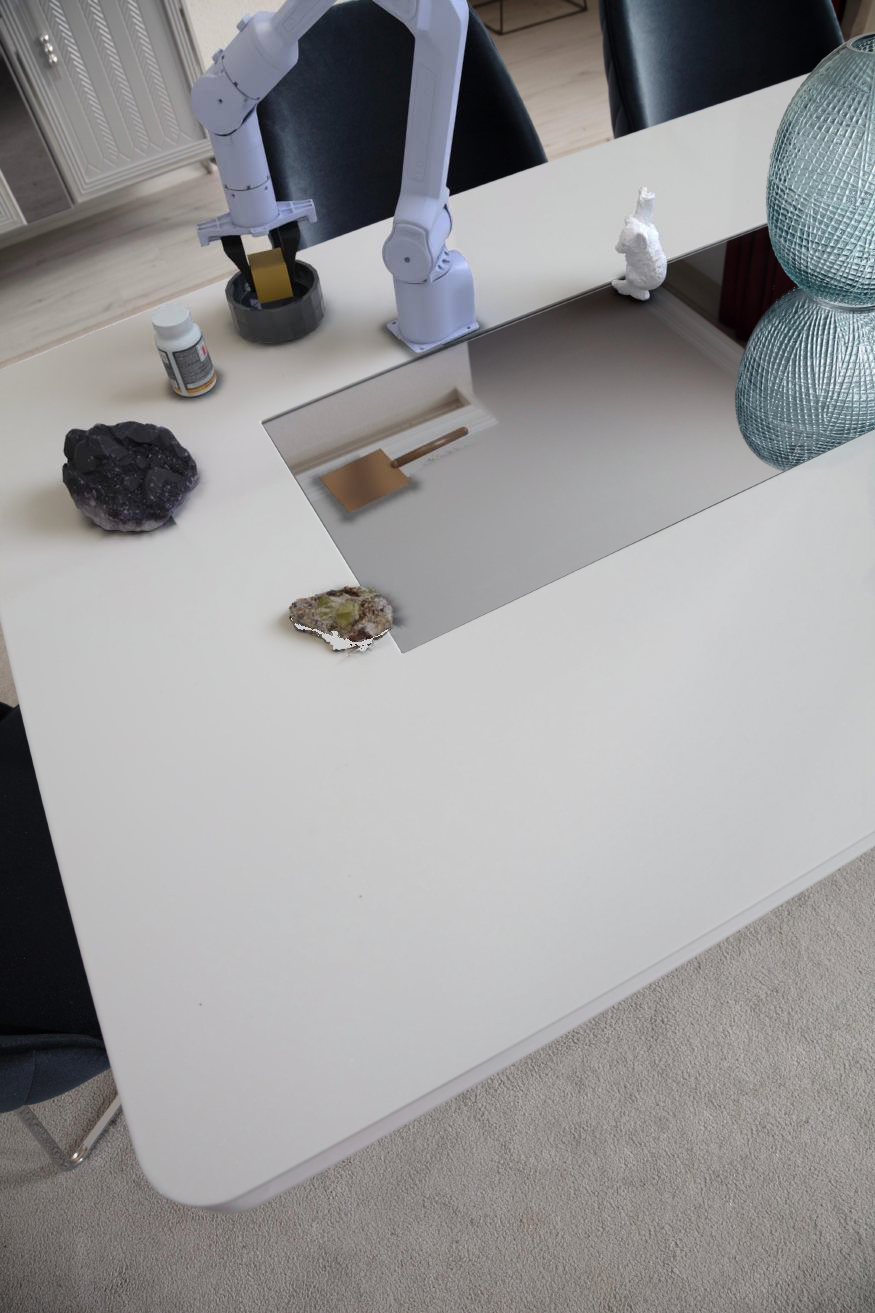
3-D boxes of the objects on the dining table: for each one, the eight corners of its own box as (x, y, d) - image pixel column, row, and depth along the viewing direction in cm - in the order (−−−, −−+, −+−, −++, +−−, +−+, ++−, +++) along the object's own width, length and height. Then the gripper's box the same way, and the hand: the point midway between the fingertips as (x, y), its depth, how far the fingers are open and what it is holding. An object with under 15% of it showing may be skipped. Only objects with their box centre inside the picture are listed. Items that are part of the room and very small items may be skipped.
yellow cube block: (287, 278, 122) (280, 246, 118) (293, 296, 119) (286, 264, 116) (255, 285, 122) (246, 254, 118) (259, 303, 119) (251, 272, 115)
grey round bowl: (300, 281, 128) (292, 247, 124) (341, 321, 122) (335, 287, 118) (220, 314, 125) (210, 280, 121) (258, 357, 119) (249, 323, 115)
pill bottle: (222, 369, 118) (199, 299, 110) (211, 398, 114) (187, 328, 106) (179, 370, 118) (154, 300, 111) (167, 399, 115) (140, 328, 107)
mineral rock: (402, 575, 91) (383, 622, 85) (406, 611, 94) (388, 660, 88) (298, 570, 93) (272, 616, 87) (305, 606, 96) (280, 653, 90)
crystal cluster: (226, 493, 105) (203, 416, 98) (126, 555, 99) (93, 478, 91) (158, 453, 112) (132, 378, 105) (61, 508, 105) (26, 433, 98)
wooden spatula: (451, 418, 108) (450, 409, 107) (484, 450, 105) (484, 441, 104) (319, 481, 104) (317, 473, 103) (349, 516, 100) (347, 508, 99)
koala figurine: (613, 272, 123) (620, 181, 114) (665, 273, 122) (676, 182, 113) (608, 309, 119) (614, 218, 109) (661, 311, 117) (673, 219, 108)
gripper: (188, 207, 106) (220, 313, 117) (312, 181, 107) (332, 288, 118) (182, 179, 110) (214, 284, 121) (301, 154, 111) (322, 260, 122)
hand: (272, 284), depth 120 cm, fingers closed on yellow cube block, 4 cm apart
